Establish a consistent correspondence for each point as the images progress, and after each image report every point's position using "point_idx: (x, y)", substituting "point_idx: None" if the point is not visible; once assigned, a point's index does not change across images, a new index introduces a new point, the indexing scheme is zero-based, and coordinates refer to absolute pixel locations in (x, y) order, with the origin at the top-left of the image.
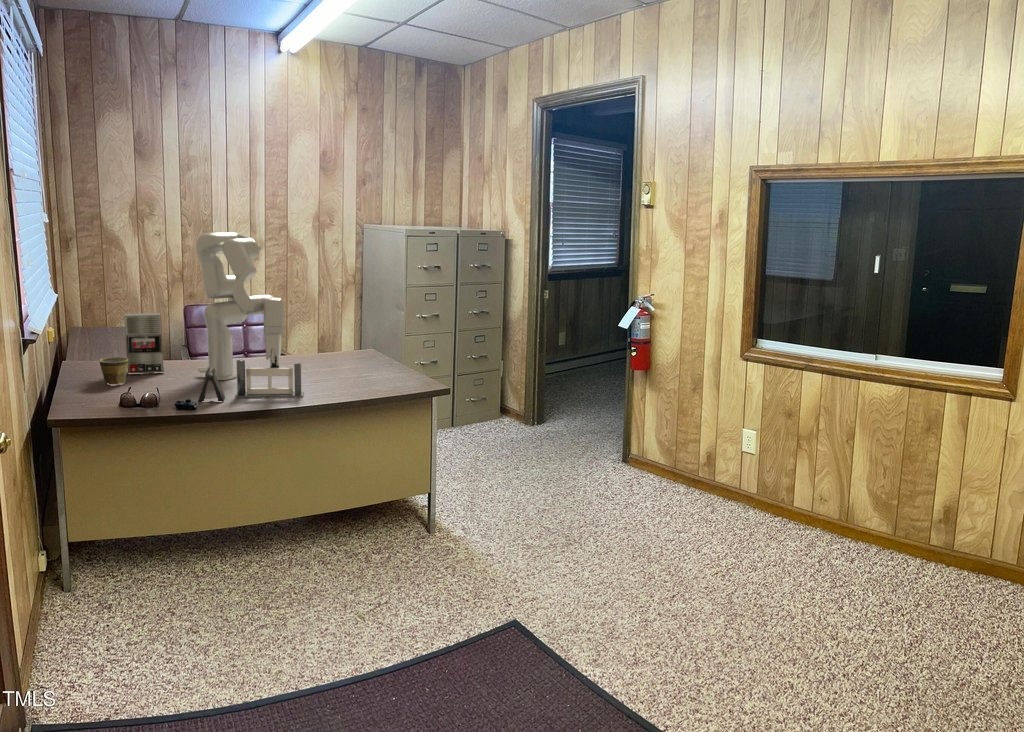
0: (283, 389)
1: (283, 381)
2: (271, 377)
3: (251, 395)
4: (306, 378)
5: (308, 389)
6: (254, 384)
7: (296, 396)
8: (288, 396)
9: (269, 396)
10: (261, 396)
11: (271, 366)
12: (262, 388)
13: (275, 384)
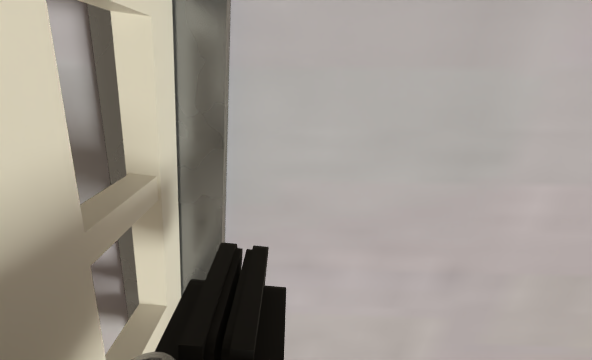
0: (139, 271)
1: (540, 250)
2: (99, 254)
3: (103, 25)
4: (555, 355)
5: (309, 355)
6: (539, 54)
7: (129, 307)
8: (125, 271)
9: (111, 164)
10: (104, 108)
11: (180, 354)
12: (135, 126)
13: (479, 203)
